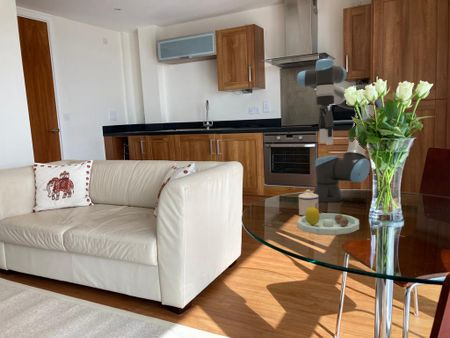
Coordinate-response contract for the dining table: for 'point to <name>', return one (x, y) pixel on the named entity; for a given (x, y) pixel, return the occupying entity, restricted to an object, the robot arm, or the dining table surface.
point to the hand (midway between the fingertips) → (326, 143)
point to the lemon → (312, 215)
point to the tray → (329, 225)
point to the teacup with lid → (307, 201)
